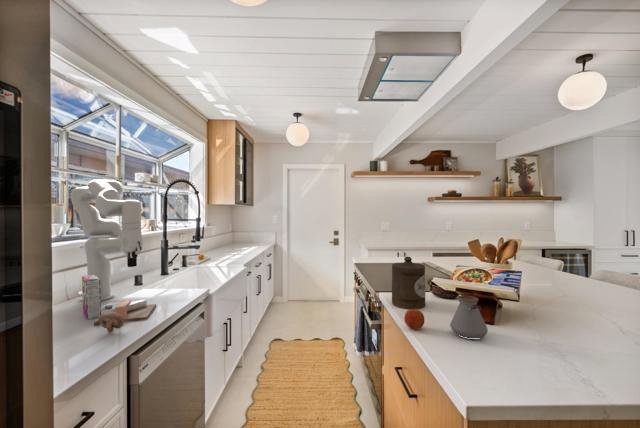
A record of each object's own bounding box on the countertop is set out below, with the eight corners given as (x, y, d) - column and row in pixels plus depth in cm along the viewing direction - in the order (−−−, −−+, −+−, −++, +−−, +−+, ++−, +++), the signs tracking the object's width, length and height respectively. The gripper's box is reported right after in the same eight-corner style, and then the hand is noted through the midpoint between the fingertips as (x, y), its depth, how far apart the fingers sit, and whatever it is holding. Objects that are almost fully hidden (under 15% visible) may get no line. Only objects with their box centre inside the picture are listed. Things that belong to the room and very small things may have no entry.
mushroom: (95, 335, 103) (94, 312, 103) (112, 328, 109) (111, 307, 109) (110, 338, 101) (109, 315, 101) (126, 331, 107) (126, 309, 107)
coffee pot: (448, 327, 107) (448, 286, 107) (483, 330, 103) (483, 288, 103) (455, 354, 86) (454, 303, 86) (499, 359, 83) (499, 307, 83)
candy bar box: (81, 314, 126) (81, 276, 127) (96, 311, 130) (95, 274, 130) (86, 320, 119) (85, 280, 119) (101, 316, 123) (101, 278, 123)
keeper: (116, 319, 116) (115, 307, 116) (122, 312, 124) (122, 301, 124) (124, 318, 117) (124, 306, 117) (131, 311, 125) (130, 300, 125)
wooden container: (425, 310, 125) (425, 259, 125) (390, 307, 129) (389, 258, 129) (425, 301, 139) (424, 255, 139) (393, 298, 143) (392, 254, 144)
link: (105, 318, 116) (105, 308, 116) (98, 316, 118) (98, 307, 118) (148, 306, 132) (148, 297, 132) (141, 304, 134) (141, 295, 134)
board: (94, 325, 113) (94, 322, 113) (110, 311, 130) (110, 308, 130) (146, 319, 118) (146, 316, 118) (156, 306, 135) (156, 304, 135)
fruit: (424, 333, 101) (424, 310, 101) (403, 331, 104) (403, 308, 104) (424, 326, 108) (424, 304, 108) (405, 324, 110) (404, 303, 110)
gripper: (113, 227, 134) (113, 266, 134) (133, 227, 128) (133, 269, 127) (130, 226, 141) (130, 264, 141) (149, 226, 134) (150, 266, 134)
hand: (132, 266), depth 134 cm, fingers closed
